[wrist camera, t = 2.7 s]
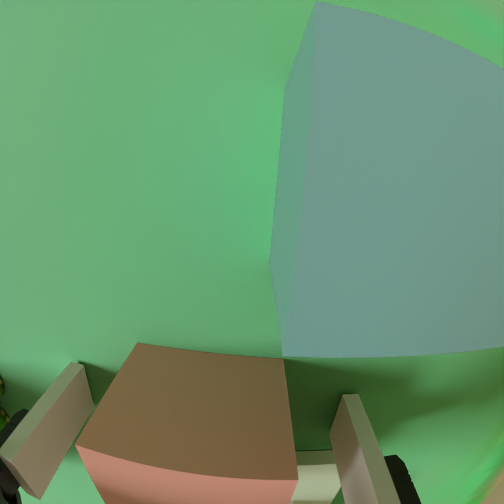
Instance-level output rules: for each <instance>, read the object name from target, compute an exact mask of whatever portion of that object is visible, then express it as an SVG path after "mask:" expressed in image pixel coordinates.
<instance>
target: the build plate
mask: <svg viewBox="0 0 504 504" xmlns="http://www.w3.org/2000/svg"><path fill="white" fill-rule="evenodd" d="M295 453H296V462H297V470H298V479H299V480H298V483H297V485H296V488H295V490H294V493H293V495H292V498H291V500H290V503H289V504H331V503H332V501H333V499H334V498H335V496H336V494H337V493H338V491H339V489H340V487H341V484H340V479H339V475H338V471H337V467H336V462H335V458H334V454H333V450H327V451H295Z"/></svg>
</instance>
